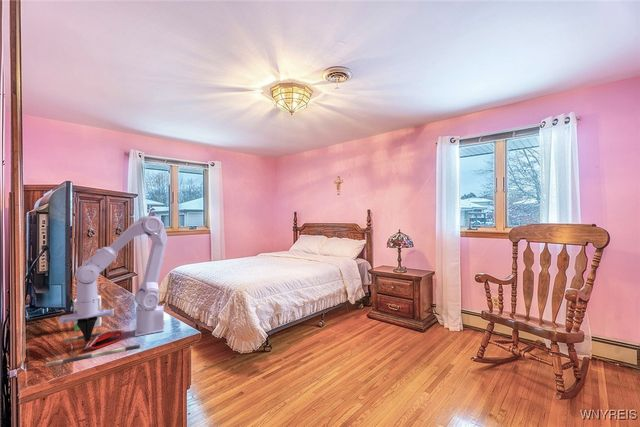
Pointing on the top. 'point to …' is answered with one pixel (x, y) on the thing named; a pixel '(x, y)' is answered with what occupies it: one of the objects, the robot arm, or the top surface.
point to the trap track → (90, 354)
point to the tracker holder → (102, 337)
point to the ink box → (99, 320)
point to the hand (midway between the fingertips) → (88, 340)
